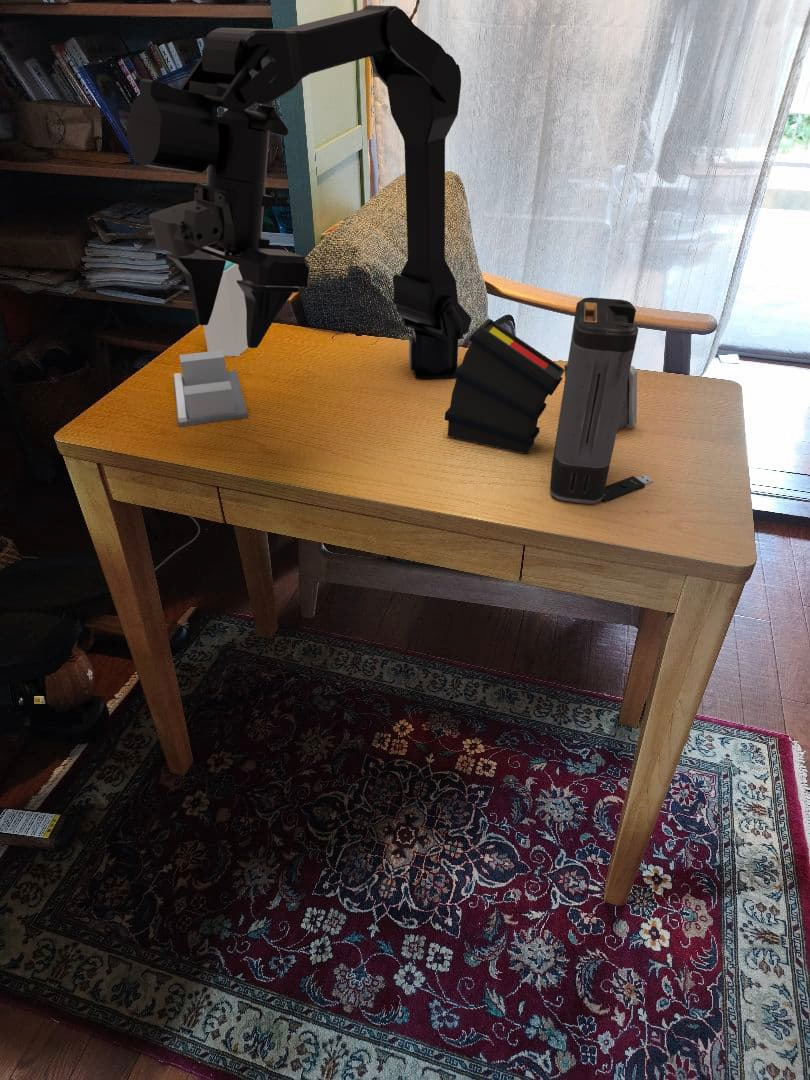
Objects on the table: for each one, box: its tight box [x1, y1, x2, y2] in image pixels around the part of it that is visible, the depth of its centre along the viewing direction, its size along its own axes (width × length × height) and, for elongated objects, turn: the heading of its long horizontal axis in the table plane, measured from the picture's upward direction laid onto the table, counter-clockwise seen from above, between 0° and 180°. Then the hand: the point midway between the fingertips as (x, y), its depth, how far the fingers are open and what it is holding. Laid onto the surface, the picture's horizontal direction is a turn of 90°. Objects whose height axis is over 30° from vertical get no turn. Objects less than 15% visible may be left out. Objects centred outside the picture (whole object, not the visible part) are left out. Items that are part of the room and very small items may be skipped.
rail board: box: [173, 350, 249, 428], centre depth 100 cm, size 9×14×4 cm, turn 16°
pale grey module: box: [202, 260, 249, 358], centre depth 111 cm, size 5×5×13 cm
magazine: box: [444, 318, 565, 454], centre depth 89 cm, size 4×13×15 cm, turn 66°
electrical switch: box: [563, 362, 638, 431], centre depth 94 cm, size 9×5×9 cm, turn 38°
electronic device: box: [549, 296, 639, 505], centre depth 79 cm, size 9×6×20 cm, turn 168°
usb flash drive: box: [600, 474, 654, 504], centre depth 84 cm, size 8×2×1 cm, turn 120°
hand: (226, 335), depth 80 cm, fingers open, 9 cm apart
